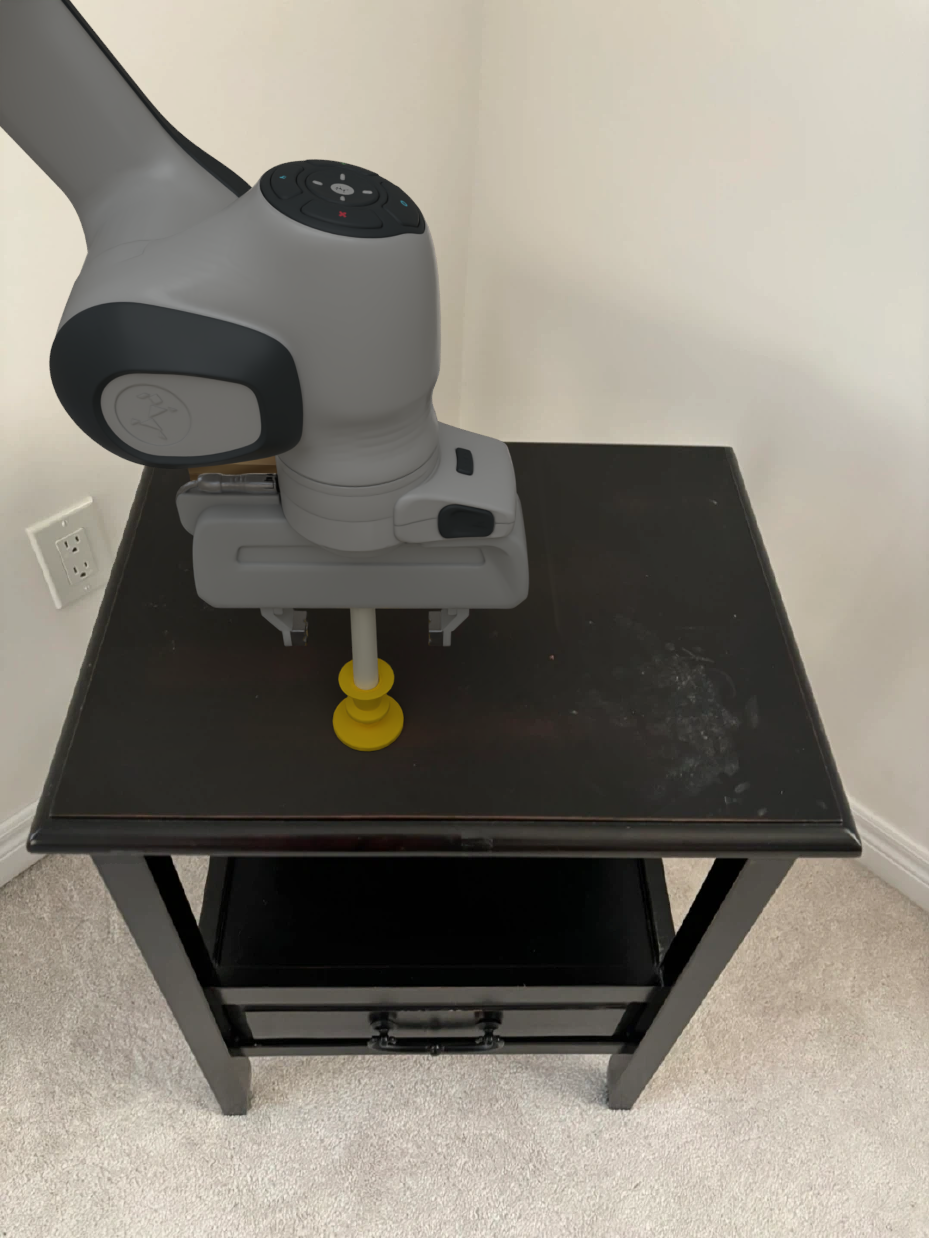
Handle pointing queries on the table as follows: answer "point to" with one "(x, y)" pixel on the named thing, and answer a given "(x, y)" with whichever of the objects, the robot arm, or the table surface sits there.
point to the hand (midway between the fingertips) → (368, 638)
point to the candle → (366, 691)
